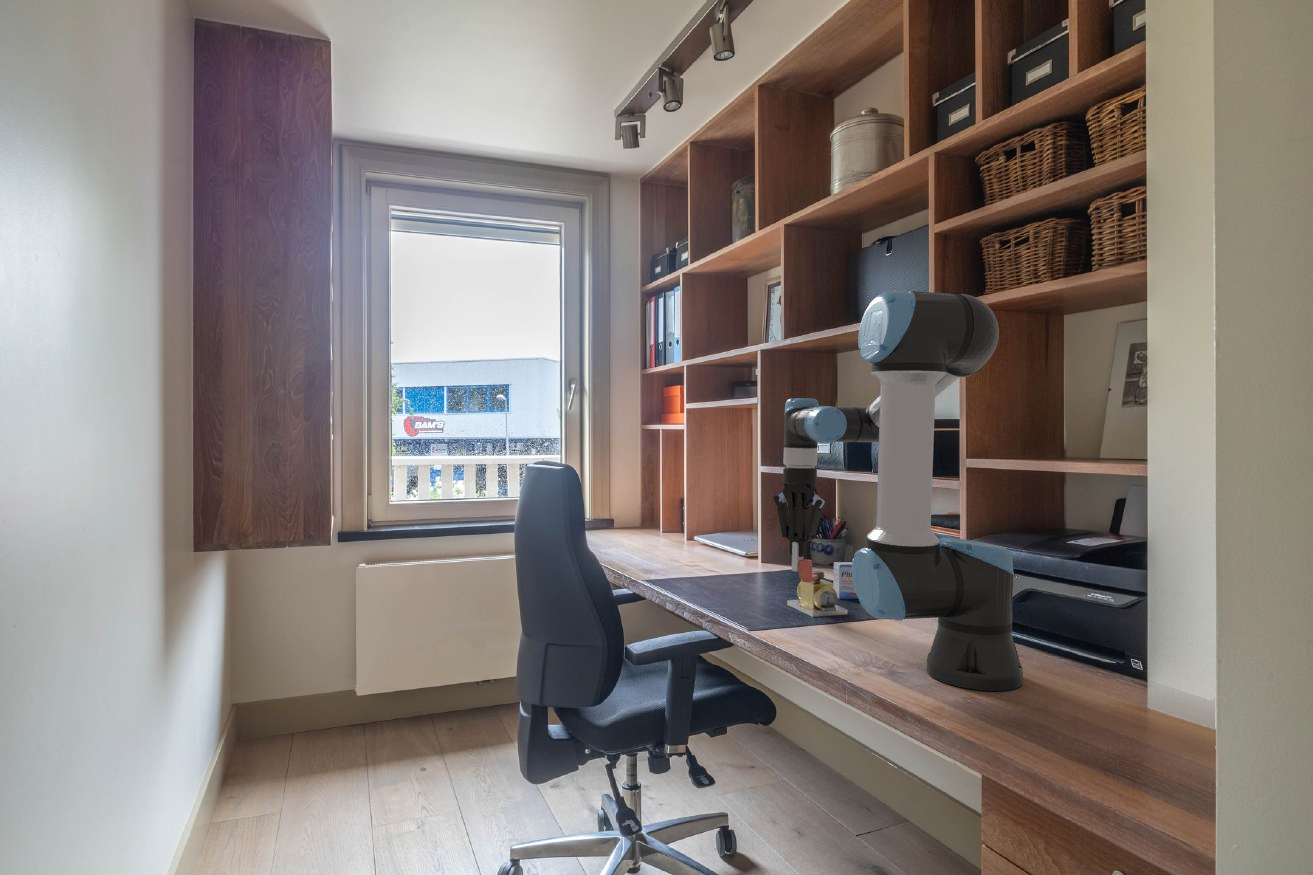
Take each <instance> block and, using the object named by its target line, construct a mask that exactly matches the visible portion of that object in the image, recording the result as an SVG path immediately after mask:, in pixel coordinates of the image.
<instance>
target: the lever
mask: <svg viewBox="0 0 1313 875" xmlns="http://www.w3.org/2000/svg"><path fill="white" fill-rule="evenodd" d="M798 576H799V577H798V579H800V580H802V582H808V583H810V582H812V581H814V580H821V579H823V580H825V572H824V571H820V570H813V560H812V559H804V558H803V560H800V561H799V571H798Z"/></svg>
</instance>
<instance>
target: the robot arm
mask: <svg viewBox="0 0 1313 875" xmlns="http://www.w3.org/2000/svg"><path fill="white" fill-rule="evenodd" d="M999 335H1000V328H999V323H998V320H997V318H996V315H995V314H994V312H993V310H992V309H991V308H990V307H989V305H988V304H987V303H985V302H984V301H982V300H981V299H979V298H978V297H975V296H973V295H971V294H970V295H969V294H965V293H946V292H945V293H943V292H934V291H933V292H929V291H918V290H894V291H893V290H891V291H884V292H882V293H879V294H878V295H877V296H876V297H875V298H873V299H872V300H871V302H870V303H869V304H868V306H867V308H866V309H865V311H864V314H863V316H862V318H861V322H860V324H859V329H858V337H857V340H858V341H857V344H858V350H859V354H860V356H861V358H862V359H863V360H865V361H866V362H868V364H871V375H872V376H873V377H874V379H876V380H877V382H879V384H880V392H879V393H880V394H879V396H878V397H877V398H876V399H875V400H874V401H872V403H871V404H869V405H868V406H866V407H863V406H861V407H859V406H854V407H853V406H852V407H851V406H850V407H849V406H831V405H819V401H818V400H817V399H816V398H788V399H787V400H786V402H785V406H784V413H783V417H784V433H783V434H784V436H783V438H784V439H783V440H784V441H783V461H782V462H783V465H784V466H785V467H784V468H783V470H782V472H783V473H782V481H783V484H784V485H783V487H782V490H781V492H780V493H779V494H776V495H774V496H773V497H772V499H773V501H774V503H775V505H776V507H777V508H776V509H777V514H778V519H779V526H780V530H781V536H782V537H783V538H785V539H787V540H788V541H789V551H788V552H789V555H790V556H791V571H792V572H799V561H800V560H803V559H804V557H806V556H807V545H808V544H807V543H808V542H810V541H813V540H815V538H816V535H817V531H818V527H819V522H820V519H821V516H822V511H823V509H824V507H825V506H826V505H827V500H826V499H822V497H820V496H819V495H818V491H817V488H816V485H817V483H818V479H817V478H818V469H817V468H816V466H817V465H818V448H819V443H821V444H825V443H826V444H828V443H878V455H877V456H878V461H877V491H876V492H877V493H876V495H877V496H876V526H875V527H874V528H873V529H872V530H871V531H870V532H869V533H867V535H866V547H862V548H861V549H859V550H857V551H856V552H855V553H854V556H853V558H852V561H851V562H852V579H853V584H854V588H855V592H856V594H857V597H858V598H859V599H858V601H859V603H860V605H861V606H862V608H863V610H865V611H866V612H867V614H869V615H870V616H872V617H873V618H876V619H878V620H894V621H903V620H915V619H932V618H934V619H935V618H936V619H938V620H937V629H936V633H935V634H934V638H933V641H932V644H931V648H930V651H929V652H928V654H927V656H926V672H927V674H928V675H929V676H931V677H932V678H933V679H936V680H937V681H939V682H942V683H945V684H948V685H950V686H956V687H960V688H962V689H963V688H965V689H970V690H976V691H985V692H986V691H989V692H993V691H994V692H1003V691H1011V690H1014V689H1018V688H1020V687H1022V686H1023V683H1024V668H1023V666H1022V664H1021V662H1020V658H1019V654H1018V650H1017V647H1016V643H1015V641H1014V637H1013V594H1014V592H1013V587H1014V585H1013V584H1014V576H1015V572H1014V563H1013V562H1014V561H1013V555H1012V553H1011V551H1010V550H1009V549H1007V548H1006V547H1004V546H1001V545H997V544H992V543H988V542H982V541H977V540H971V539H964V538H956V537H947V536H945V537H940V538H939V537H938V536H936V535H935V533H934V532H933V531H932V529H931V527H932V524H931V523H932V496H933V467H934V464H933V463H934V438H935V412H936V410H935V408H936V398H937V396H939V395H941V393H942V392H944V391H945V390H947V388H948V387H950V386H951V385H952V384H953V383H954V382H956V381H957V380H958V379H959V378H968V377H970V376H971V375H974V374H975V373H976V372H977V371H978V370H981V368H982V367H983V366H984V365H986V363H987V362H988V361H989V360H990V359H991V357H992V356H993V355H994V353H995V351H996V348H997V346H998V342H999V339H1000V336H999ZM811 505H813V506H812V507H811Z"/></svg>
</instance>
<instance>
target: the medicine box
mask: <svg viewBox="0 0 1313 875" xmlns="http://www.w3.org/2000/svg"><path fill="white" fill-rule="evenodd" d="M833 584H834V586H833V589H835V591H836V592H837V596H838V599H839V600H859V598H858V597H857V594H856V592H855V588H854V584H853V579H852V561H841V562H840V561H836V562H835V561H834V562H833Z"/></svg>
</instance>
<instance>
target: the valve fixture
mask: <svg viewBox="0 0 1313 875" xmlns="http://www.w3.org/2000/svg"><path fill="white" fill-rule="evenodd" d="M833 586H834V582H831V581H828V580H825V579H821V580H814V581H812V582H810V583H808V582H802V579H800V582H799V583H798V584H797V587H796V588H797V589H796V596H797V598H798V599H788V600H786V605H787V606H789V607H791V608H794V609H796V610H797V611H799V612H801V613H803V614H805V615H808V616H809V617H812V618H814V617H815V618H817V617H828V616H843V615H848V613H849V612H848V609H846V608H845V607H842V606H840V605H837V603H838V599H839V598H838V596H837V592H836V591H835V589H833Z"/></svg>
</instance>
